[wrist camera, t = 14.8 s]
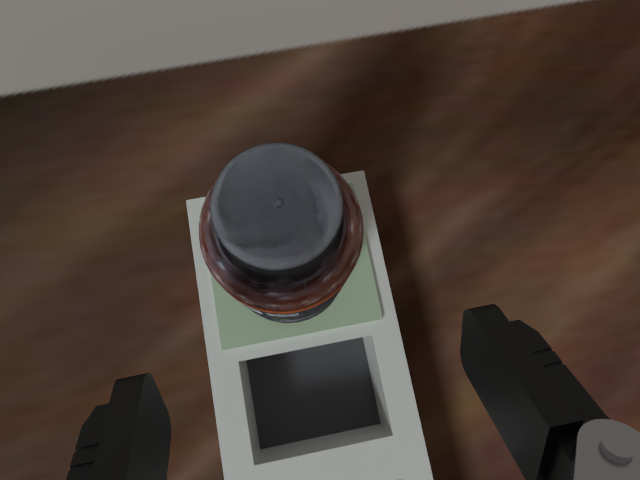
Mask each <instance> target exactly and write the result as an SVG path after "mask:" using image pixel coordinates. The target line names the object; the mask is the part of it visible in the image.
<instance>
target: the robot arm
mask: <svg viewBox="0 0 640 480" xmlns="http://www.w3.org/2000/svg"><path fill="white" fill-rule="evenodd" d="M460 353H461V360H462V364H463V367H464V370H465V372H466V374H467V376H468V378H469V380H470V382H471V383H472V385H473V387H474V389H475V391H476V392H477V394H478V396H479V398H480V399H481V401H482V403H483V405H484V407H485V408H486V410H487V412H488V414H489V415H490V417H491V419H492V421H493V422H494V424H495V426H496V428H497V430H498V431H499V433H500V435H501V437H502V438H503V440H504V442H505V444H506V445H507V447H508V449H509V451H510V453H511V454H512V456H513V458H514V460H515V461H516V463H517V465H518V467H519V468H520V470H521V472H522V474H523V476H524V477H525V479H526V480H640V433H639V432H637V431H636V430H635V429H633V428H631V427H630V426H627V425H625V424H623V423H620V422H618V421H614V420H610V419H609V418H608V417H607V416H606V415H605V413H604V412H603V411H602V410H601V409H600V407H599V406H598V405H597V404H596V402H595V401H594V400H593V399H592V398H591V396H590V395H589V394H588V393H587V391H586V390H585V389H584V388H583V386H582V385H581V384H580V383H579V382H578V380H577V379H576V378H575V377H574V375H573V374H572V373H571V372H570V370H569V369H568V368H567V367H566V366H565V365H563V364H562V361H561V359H560V358H559V357H558V356H557V354H556V353H555V352H554V351H552V350H551V347H550V346H549V345H548V343H547V342H546V341H545V340H544V338H543V337H542V336H541V335H540V334H539V332H537V331H536V330H534V329H533V328H531V327H530V326H528V325H527V324H525V323H524V322H522V321H521V320H516V321H511V322H509V320H508V319H507V318H506V316H505V315H504V314H503V312H502V311H501V310H500V309H499V307H498V306H497V305H495V304H491V305H486V306H481V307H476V308H471V309H466V310H465V311H464V313H463V323H462V336H461V349H460ZM170 442H171V423H170V417H169V414H168V411H167V408H166V406H165V404H164V402H163V399H162V397H161V395H160V393H159V390H158V388H157V386H156V384H155V381H154V379H153V377H152V375H151V374H150V373H146V374H141V375H136V376H131V377H126V378H121V379H117V380H116V381H115V383H114V386H113V390H112V394H111V398H110V402H109V404H105V405H100V406H96V407H95V409H94V410H93V412H92V413H91V415H90V416H89V417H88V419H87V420H86V422H85V423H84V424H83V426H82V428H81V431H80V435H79V438H78V441H77V445H76V448H75V449H76V452H75V453H74V455H73V458H72V462H71V465H70V468H71V470H70V471H69V472H68V475H67V478H66V480H166V478H167V469H168V460H169V451H170Z"/></svg>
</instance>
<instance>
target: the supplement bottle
mask: <svg viewBox="0 0 640 480" xmlns="http://www.w3.org/2000/svg"><path fill="white" fill-rule="evenodd" d="M199 241H200V248H201V252H202V255H203V258H204V261H205V263H206V265H207V267H208V269H209V271H210V272H211V274H212V275H213V277H214V278H215V280H216V281H217V282H218V283H219V284H220V285H221V286H222V287H223V289H224V290H225V291H226V292H227V293H229V294H230V295H231V296H232V297H233V298H234V299H236V300H237V301H239V302H240V303H242V304H243V305H244V306H245V307H247V308H249V309H250V310H251V311H253V312H254V313H255V314H257V315H259V316H261V317H263V318H265V319H267V320H270V321H275V322H280V323H296V322H301V321H305V320H308V319H311V318H313V317H315V316H317V315H318V314H320V313H322V312H323V311H324V310H325V309H327V308H328V307H329V306H330V305H331V304H332V302H333V301H334V299H335V298H336V296H337V295H338V293H339V292H340V290H341V289H342V287H343V286H344V284H345V282H346V281H347V279H348V278H349V276H350V274H351V273H352V271H353V269H354V267H355V266H356V263H357V261H358V258H359V256H360V252H361V249H362V244H363V218H362V213H361V209H360V206H359V203H358V200H357V198H356V196H355V194H354V192H353V190H352V189H351V187H350V186H349V184H348V183H347V182H346V180H345V179H344V178H343V177H342V176H341V175H340V174H339V173H338V172H337V171H336V170H335V169H334V168H333V167H331V166H330V165H328V164H327V163H326V162H324V161H323V160H322V159H321V158H319V157H318V156H317V155H315V154H314V153H313V152H310V151H309V150H307V149H305V148H303V147H300V146H297V145H293V144H287V143H267V144H262V145H258V146H254V147H252V148H250V149H247V150H245V151H244V152H242V153H240V154H239V155H238V156H236V157H235V158H233V159H232V160H231V161H230V162H229V163H228V164H227V165H226V166H225V167H224V169H223V170H222V172H221V174H220V175H219V177H218V179H217V180H216V181H215V182H214V184H213V185H212V187H211V189H210V190H209V192H208V194H207V196H206V198H205V202H204V204H203V206H202V210H201V214H200V221H199Z"/></svg>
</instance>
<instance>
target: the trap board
mask: <svg viewBox="0 0 640 480" xmlns="http://www.w3.org/2000/svg"><path fill="white" fill-rule="evenodd" d="M340 175H341V176H342V177H343V178H344V179H345V180H346V182H347V183H348V184H349V186H350V187H351V189H352V190H353V192H354V194H355V196H356V198H357V200H358V203H359V206H360V209H361V213H362V218H363V244H362V249H361V252H360V256H359V258H358V261H357V263H356V266H355V267H354V269H353V271H352V273H351V274H350V276H349V278H348V279H347V281H346V282H345V284H344V286H343V287H342V289H341V290H340V292H339V293H338V295H337V296H336V298H335V299H334V301H333V302H332V304H331V305H330V306H329V307H328V308H327V309H325V310H324V311H323V312H322V313H320V314H318V315H317V316H315V317H313V318H311V319H308V320H305V321H301V322H296V323H280V322H275V321H270V320H267V319H265V318H263V317H261V316H259V315H257V314H255V313H254V312H253V311H251V310H250V309H249V308H247V307H245V306H244V305H243V304H242V303H240V302H239V301H237V300H236V299H234V298H233V297H232V296H231V295H230V294H229V293H227V292H226V291H225V290H224V289H223V287H222V286H221V285H220V284H219V283H218V282H217V281H216V280H215V278H214V277H213V275H212V274H211V272H210V271H209V269H208V267H207V265H206V263H205V261H204V258H203V255H202V252H201V248H200V241H199V221H200V214H201V210H202V206H203V204H204V202H205V198H206V197H203V198H197V199H191V200H186V205H187V212H188V219H189V226H190V234H191V241H192V248H193V255H194V263H195V270H196V277H197V284H198V292H199V299H200V306H201V314H202V321H203V328H204V335H205V343H206V350H207V357H208V364H209V372H210V379H211V386H212V393H213V401H214V408H215V415H216V423H217V430H218V437H219V444H220V452H221V459H222V466H223V473H224V480H433V476H432V471H431V467H430V462H429V458H428V453H427V449H426V445H425V440H424V436H423V431H422V427H421V422H420V418H419V413H418V409H417V404H416V400H415V396H414V391H413V387H412V382H411V378H410V373H409V369H408V364H407V360H406V356H405V351H404V347H403V342H402V338H401V333H400V329H399V324H398V320H397V316H396V311H395V307H394V302H393V298H392V293H391V289H390V284H389V280H388V275H387V271H386V267H385V262H384V258H383V253H382V249H381V244H380V240H379V235H378V231H377V227H376V222H375V218H374V213H373V209H372V204H371V200H370V195H369V191H368V187H367V182H366V178H365V173H364V170H363V171H357V172H351V173H345V174H340Z"/></svg>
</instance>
